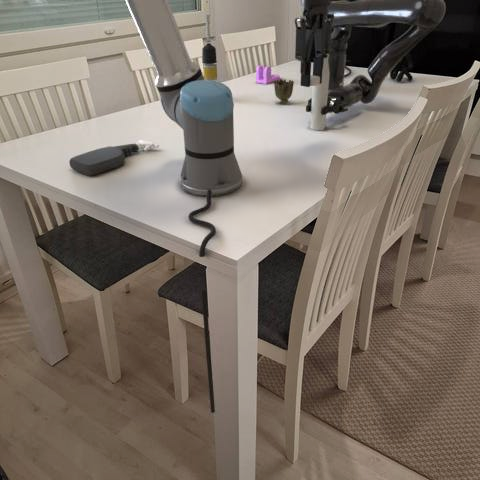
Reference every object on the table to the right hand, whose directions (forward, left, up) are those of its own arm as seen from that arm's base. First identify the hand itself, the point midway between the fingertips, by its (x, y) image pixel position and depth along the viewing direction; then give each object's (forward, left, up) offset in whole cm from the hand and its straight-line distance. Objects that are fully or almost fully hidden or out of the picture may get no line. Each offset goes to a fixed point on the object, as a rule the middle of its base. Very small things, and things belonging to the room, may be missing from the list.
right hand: (314, 110), depth 140 cm
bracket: (-66, -28, -6) cm, 72 cm away
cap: (+14, 0, +12) cm, 19 cm away
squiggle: (-77, +30, -6) cm, 83 cm away
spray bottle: (+37, -50, -6) cm, 63 cm away
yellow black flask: (-30, -44, -6) cm, 54 cm away
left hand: (+14, 0, +11) cm, 18 cm away
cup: (-29, -15, -6) cm, 34 cm away
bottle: (-2, +1, -6) cm, 7 cm away
